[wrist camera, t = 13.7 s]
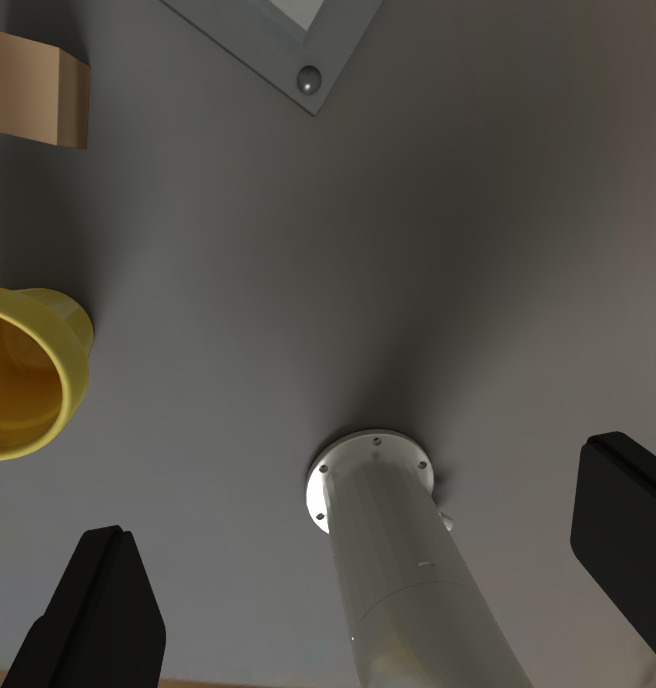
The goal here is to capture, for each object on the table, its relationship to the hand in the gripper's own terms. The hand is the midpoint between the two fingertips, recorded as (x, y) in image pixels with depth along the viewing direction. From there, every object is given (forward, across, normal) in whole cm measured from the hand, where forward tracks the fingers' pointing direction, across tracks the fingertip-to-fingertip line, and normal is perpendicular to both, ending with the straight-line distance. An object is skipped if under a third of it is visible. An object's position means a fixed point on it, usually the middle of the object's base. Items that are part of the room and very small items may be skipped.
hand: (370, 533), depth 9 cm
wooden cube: (+28, +14, -13) cm, 34 cm away
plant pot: (+28, +19, +2) cm, 34 cm away
